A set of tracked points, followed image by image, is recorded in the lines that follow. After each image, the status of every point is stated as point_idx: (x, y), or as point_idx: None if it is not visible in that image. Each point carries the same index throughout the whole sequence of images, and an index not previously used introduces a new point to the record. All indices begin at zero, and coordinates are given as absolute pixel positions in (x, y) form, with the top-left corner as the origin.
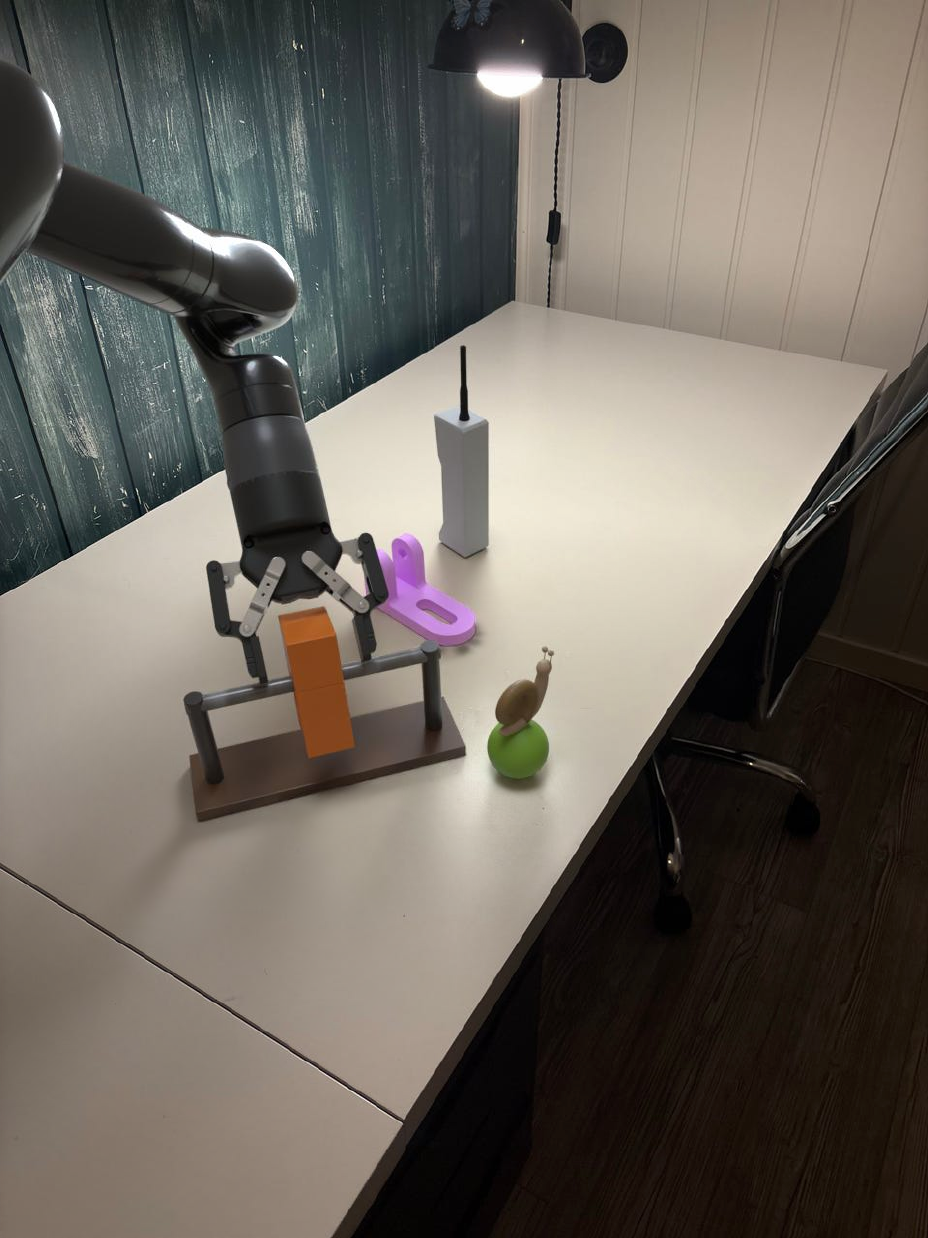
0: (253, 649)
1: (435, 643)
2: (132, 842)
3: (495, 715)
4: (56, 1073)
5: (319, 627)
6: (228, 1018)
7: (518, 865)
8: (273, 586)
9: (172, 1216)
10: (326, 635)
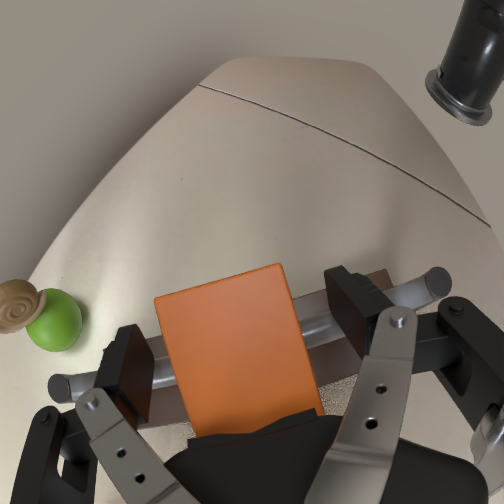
0: (367, 295)
1: (51, 393)
2: (428, 250)
3: (33, 290)
4: (387, 103)
5: (201, 348)
6: (301, 118)
7: (92, 222)
8: (349, 423)
9: (301, 59)
10: (177, 298)
